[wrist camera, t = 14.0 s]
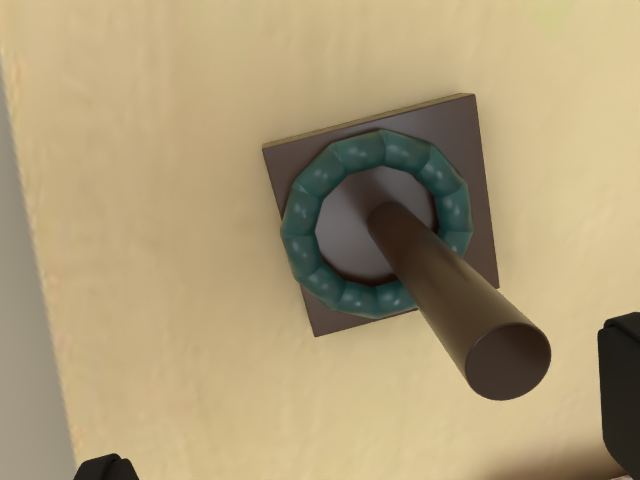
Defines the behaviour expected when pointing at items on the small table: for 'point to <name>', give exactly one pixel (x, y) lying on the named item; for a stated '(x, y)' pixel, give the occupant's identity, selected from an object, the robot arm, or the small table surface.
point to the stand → (419, 245)
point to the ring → (329, 174)
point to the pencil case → (623, 478)
